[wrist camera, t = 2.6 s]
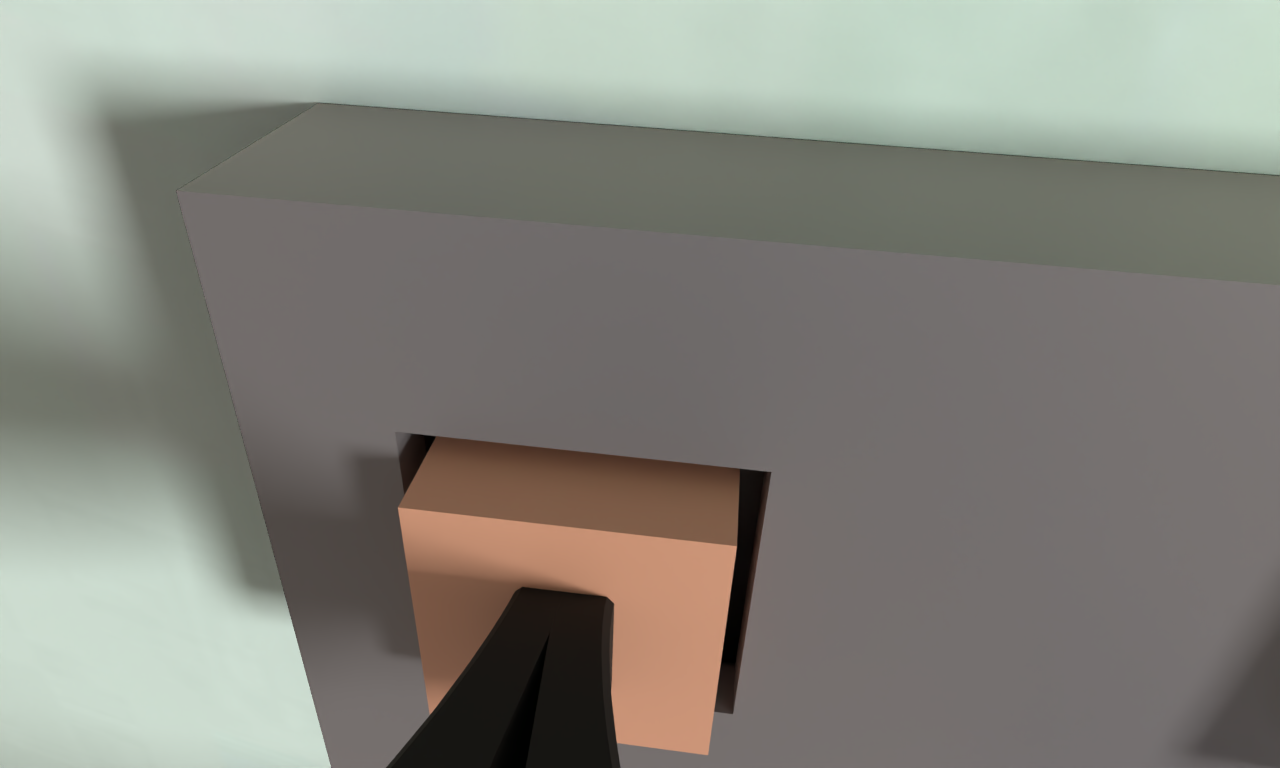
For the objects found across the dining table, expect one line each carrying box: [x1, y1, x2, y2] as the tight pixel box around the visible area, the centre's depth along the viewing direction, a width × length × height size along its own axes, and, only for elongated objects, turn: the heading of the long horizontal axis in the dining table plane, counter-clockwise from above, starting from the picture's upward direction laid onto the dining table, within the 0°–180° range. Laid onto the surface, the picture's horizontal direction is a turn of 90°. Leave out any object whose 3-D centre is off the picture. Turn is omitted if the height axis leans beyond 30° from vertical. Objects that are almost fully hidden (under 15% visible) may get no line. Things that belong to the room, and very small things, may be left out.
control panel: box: [176, 103, 1280, 768], centre depth 14 cm, size 12×24×4 cm, turn 88°
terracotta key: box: [398, 436, 740, 755], centre depth 14 cm, size 4×4×3 cm
